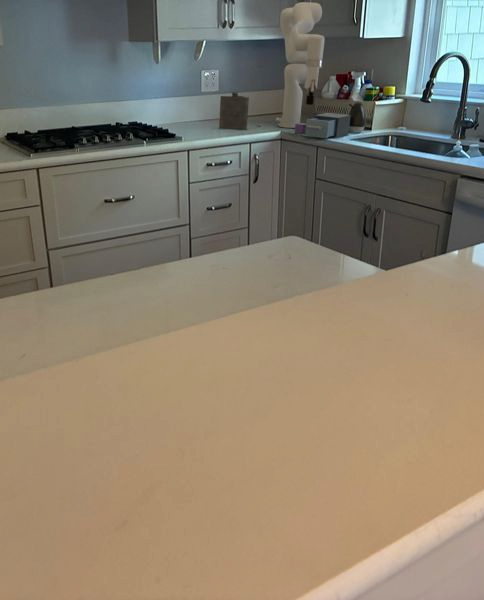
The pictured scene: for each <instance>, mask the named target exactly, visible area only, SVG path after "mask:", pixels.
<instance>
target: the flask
mask: <svg viewBox="0 0 484 600" xmlns="http://www.w3.org/2000/svg"><path fill="white" fill-rule="evenodd" d="M238 94H239V91H231V95H220V100H219V101H220V102H219V121H218V122H219V123H218V128H219V129H221V130H222V129H224V130H225V129H226V130H239V131H241V130H242V131H247V130H248V119H249V104H250V97H249V96H243V95H238Z"/></svg>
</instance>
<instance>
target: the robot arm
mask: <svg viewBox="0 0 484 600" xmlns="http://www.w3.org/2000/svg"><path fill="white" fill-rule="evenodd" d="M322 17H323V7H322V6H321V4H320V3H318V2H303V1H301V2H297V3H296V4H294V6H293V7H286V8H284V9H283V10H282V11H281V13H280V19H279V20H280V29H281V33H282V35H283V38H284V47H285V48H284V49H285V58H286V61H287V63H288V64H287V65H286V66H285V67H284V72H283V73H284V74H283V75H284V76H283V77H284V94H283V103H282V105H283V106H282V116H281V117H276V118H275V122H279V123H278V127H280V128H285V129H295V124H297V123H301V116H302V105H303V96H304V95H303V89H302V88H301V86H300V85H301V84H304V89H306V90H307V92H306V93H307V94H306V100H305V105H311V106H312V105H314V101H315V91H316V90H317V89H318V84H319V83H318V82H319V73H320V68H322V67H323V57H324V49H325V41H326V39H325V36H324V35H321V34H316V33H315V34H313V33H311V31H312V30H313V29H314V26H315V25H316V24H317V23H318V22H320V20H321V19H322ZM299 84H300V85H299Z"/></svg>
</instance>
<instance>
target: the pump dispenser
mask: <svg viewBox="0 0 484 600" xmlns="http://www.w3.org/2000/svg"><path fill="white" fill-rule="evenodd" d="M348 106H349V107H350V108H349V110H348V112H347V115H351V117H350V124H349V132H348V133H351V134H360V133H362V132H363V131H364V129H365V127H366V124H367V118H366V109H365V107H364V104H363V103H362V102H360V101H354V102H353V104H352V103H349V104H348Z"/></svg>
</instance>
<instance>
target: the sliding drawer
mask: <svg viewBox="0 0 484 600" xmlns="http://www.w3.org/2000/svg"><path fill="white" fill-rule="evenodd" d="M336 123H337V119H329V118H320V117H319V118H314V117H313V118H306V121H305V124H306V131H305V134H304V136H305V137H310V138H311V137H312V138H318V139H319V138H320V139H328V138H330V136H334V135H335V132H336Z"/></svg>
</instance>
